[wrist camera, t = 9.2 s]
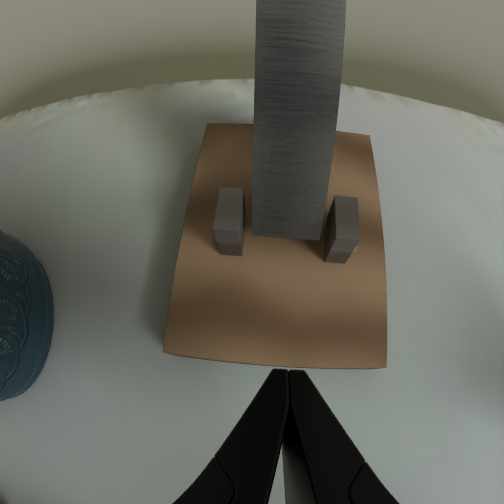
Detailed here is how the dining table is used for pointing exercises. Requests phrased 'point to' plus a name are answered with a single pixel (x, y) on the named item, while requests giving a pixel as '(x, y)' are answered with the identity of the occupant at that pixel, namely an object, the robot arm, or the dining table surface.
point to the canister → (22, 317)
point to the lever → (295, 113)
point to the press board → (279, 267)
